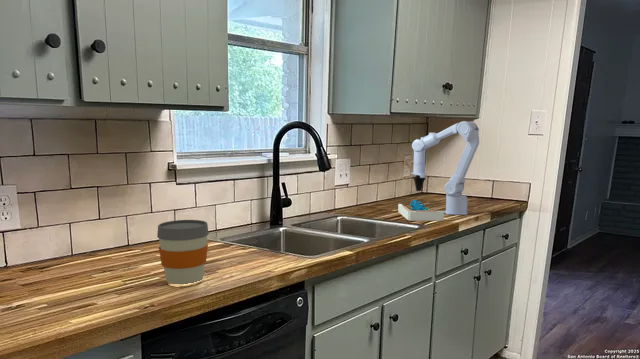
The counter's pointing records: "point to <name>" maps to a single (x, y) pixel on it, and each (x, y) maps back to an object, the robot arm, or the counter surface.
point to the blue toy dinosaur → (418, 206)
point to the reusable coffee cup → (183, 250)
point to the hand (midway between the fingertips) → (418, 190)
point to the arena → (420, 214)
